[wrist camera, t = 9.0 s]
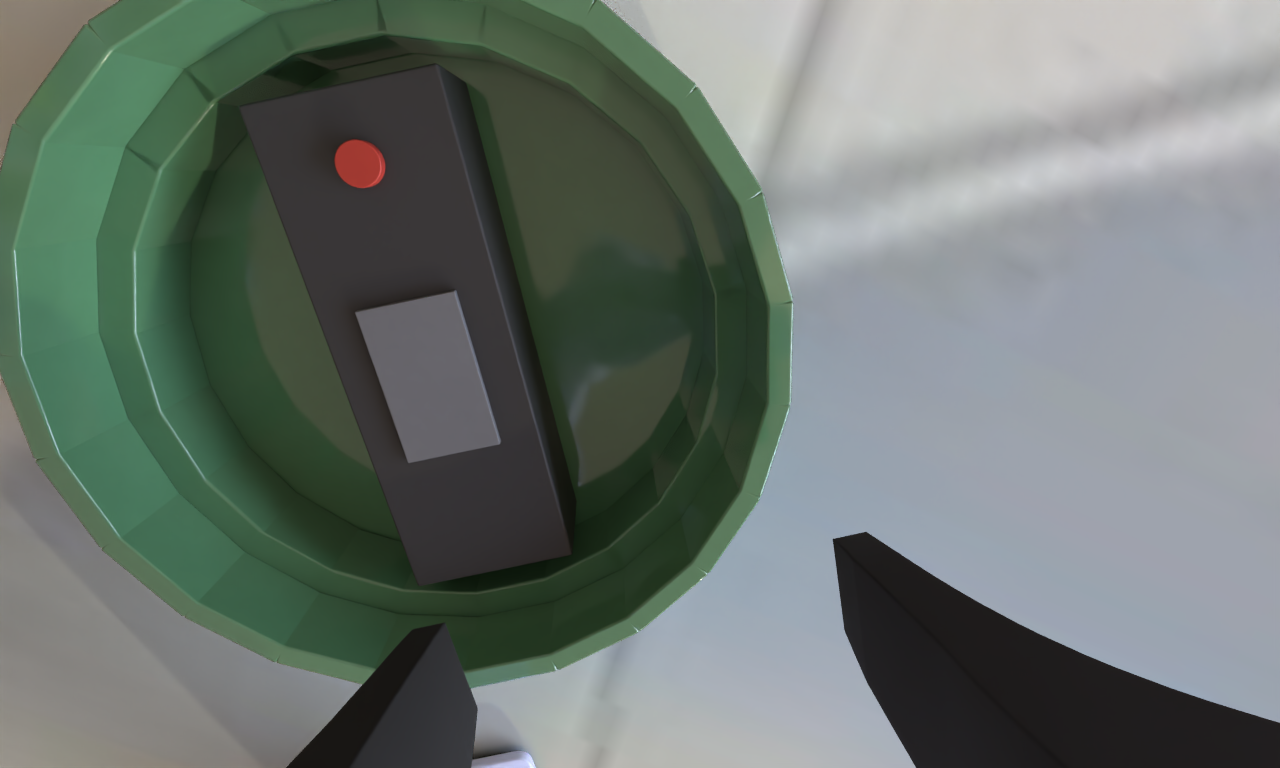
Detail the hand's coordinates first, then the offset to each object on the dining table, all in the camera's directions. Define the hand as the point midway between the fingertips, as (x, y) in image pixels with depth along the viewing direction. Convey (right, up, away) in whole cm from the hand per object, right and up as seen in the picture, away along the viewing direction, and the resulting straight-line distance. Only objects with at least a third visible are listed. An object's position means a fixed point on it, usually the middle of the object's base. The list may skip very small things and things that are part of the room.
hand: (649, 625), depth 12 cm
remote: (-6, +6, +7) cm, 11 cm away
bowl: (-6, +6, +7) cm, 11 cm away
